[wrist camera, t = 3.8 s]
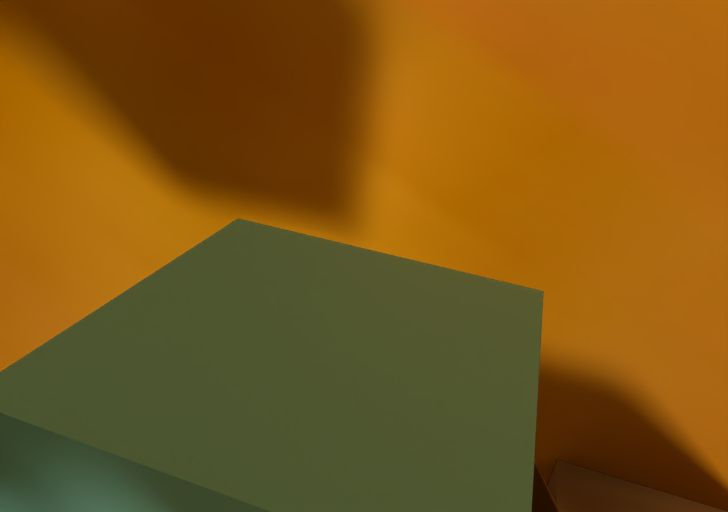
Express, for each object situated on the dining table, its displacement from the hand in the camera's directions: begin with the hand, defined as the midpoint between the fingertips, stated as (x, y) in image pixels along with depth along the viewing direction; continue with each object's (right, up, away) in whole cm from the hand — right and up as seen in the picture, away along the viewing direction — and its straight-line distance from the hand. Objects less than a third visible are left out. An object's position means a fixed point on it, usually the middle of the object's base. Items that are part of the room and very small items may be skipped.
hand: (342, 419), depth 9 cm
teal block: (0, 0, +1) cm, 1 cm away
